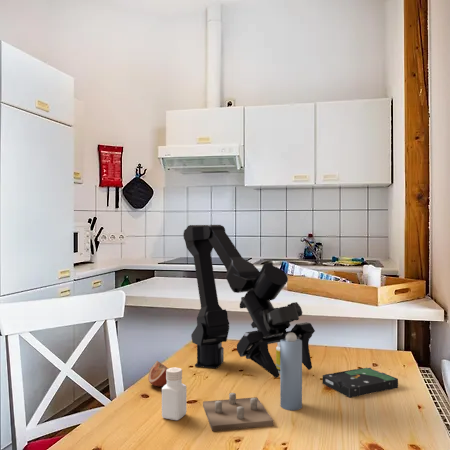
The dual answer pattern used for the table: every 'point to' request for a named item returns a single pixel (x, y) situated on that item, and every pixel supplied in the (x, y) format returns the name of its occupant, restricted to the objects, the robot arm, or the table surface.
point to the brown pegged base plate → (236, 413)
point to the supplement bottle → (278, 356)
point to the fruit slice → (158, 374)
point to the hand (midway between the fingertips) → (294, 372)
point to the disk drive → (359, 382)
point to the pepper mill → (291, 372)
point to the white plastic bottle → (174, 395)
